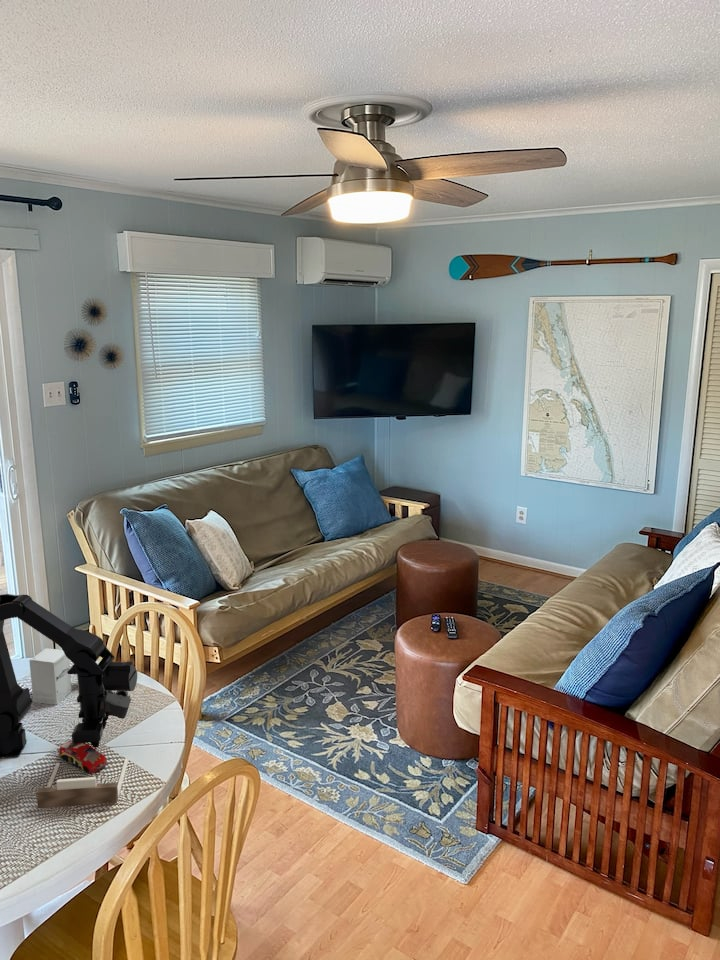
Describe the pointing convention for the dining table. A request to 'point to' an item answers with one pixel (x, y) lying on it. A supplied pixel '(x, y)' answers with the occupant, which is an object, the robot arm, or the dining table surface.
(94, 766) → the race car
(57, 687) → the supplement box
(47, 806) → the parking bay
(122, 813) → the dining table surface
